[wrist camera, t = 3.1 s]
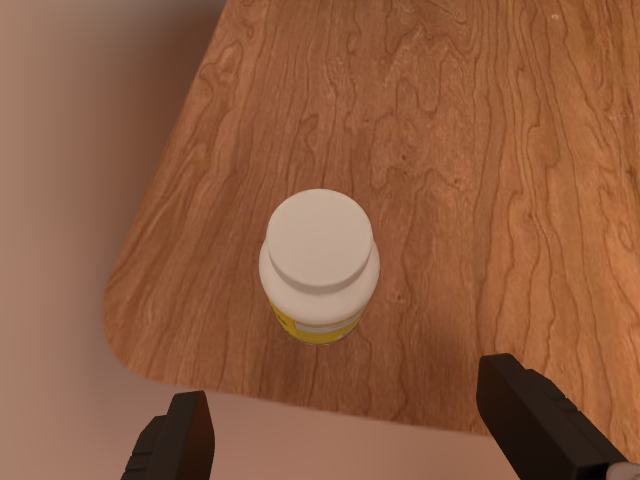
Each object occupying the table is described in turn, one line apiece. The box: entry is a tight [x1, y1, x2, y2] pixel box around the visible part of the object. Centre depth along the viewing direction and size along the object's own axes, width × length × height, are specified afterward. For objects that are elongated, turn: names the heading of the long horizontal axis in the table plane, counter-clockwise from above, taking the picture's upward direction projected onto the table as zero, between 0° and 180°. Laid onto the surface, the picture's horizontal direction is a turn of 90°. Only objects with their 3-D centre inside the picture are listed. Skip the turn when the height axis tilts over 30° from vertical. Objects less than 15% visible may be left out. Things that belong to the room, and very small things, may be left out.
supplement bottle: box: [259, 189, 380, 345], centre depth 18 cm, size 5×5×10 cm
